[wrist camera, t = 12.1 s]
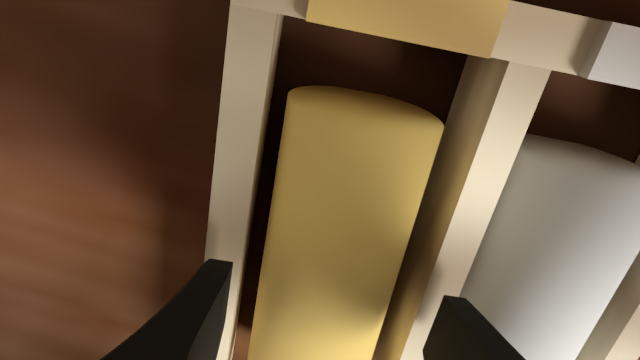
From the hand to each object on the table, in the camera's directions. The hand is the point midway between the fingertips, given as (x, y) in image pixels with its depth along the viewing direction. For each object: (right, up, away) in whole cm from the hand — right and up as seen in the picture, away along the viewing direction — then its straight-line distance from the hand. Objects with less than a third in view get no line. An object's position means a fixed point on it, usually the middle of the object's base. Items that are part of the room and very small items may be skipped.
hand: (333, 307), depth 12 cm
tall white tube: (+6, 0, +2) cm, 6 cm away
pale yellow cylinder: (0, +1, +1) cm, 2 cm away
